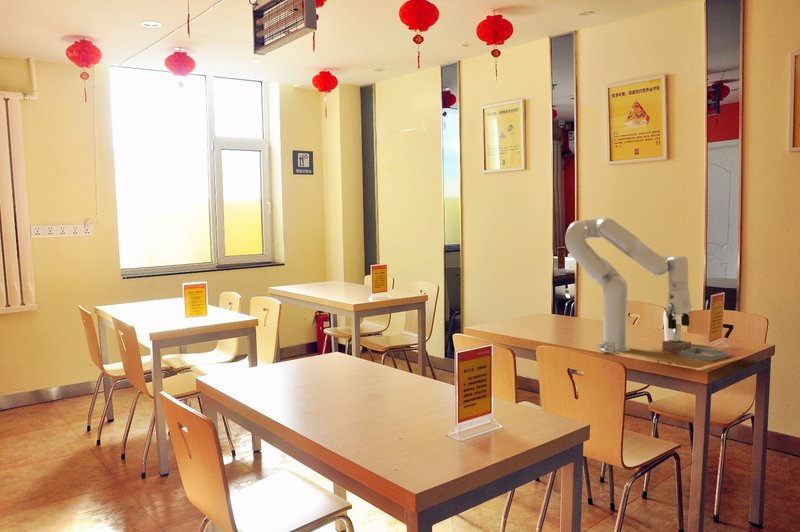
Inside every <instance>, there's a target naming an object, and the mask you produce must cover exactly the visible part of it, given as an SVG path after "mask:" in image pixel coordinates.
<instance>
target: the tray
mask: <svg viewBox="0 0 800 532" xmlns="http://www.w3.org/2000/svg"><path fill="white" fill-rule="evenodd" d="M697 352H698V353H697ZM699 353H700V354H699ZM701 353H703V354H701ZM704 354H705V355H704ZM706 354H710V355H706ZM678 356H679V357H685V358H690V359H696V360H700V361H701V360H702V361H707V362H713V361H718V360H720V359H724V358H727V357H729V351H725V350H724V351H723V350H720V349H718V350H717V349H711V348H706V347H698V346H695V347H691V348H690V349H686V350H682V351H679V354H678Z"/></svg>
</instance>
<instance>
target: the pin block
mask: <svg viewBox="0 0 800 532" xmlns="http://www.w3.org/2000/svg"><path fill="white" fill-rule="evenodd" d="M661 346H662V348H661V349H662V352H665V353H670V354H675V355H676V354H677V355H679V351H682V350H686V349H690V348H692V341H686V340H681V343H673V339H672V340H668V341H665V340H664V341H662V345H661Z"/></svg>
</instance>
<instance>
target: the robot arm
mask: <svg viewBox="0 0 800 532" xmlns="http://www.w3.org/2000/svg"><path fill="white" fill-rule="evenodd" d="M564 236H565V237H564V242H565V243H564V244H565V248H566V250H567V251H568V253H569V254H570V255H571V256H572V258H573V259H574V261H576V262H577V264H578V266H580V267H581V268H582V269H583V270H584V272H585V273H586V274H587V275H588V276H589V278H591V279H592V280H594V281H595V282H596V283H597V284H598V285H599V286H600V287H601V288H602V296H603V297H602V299H603V300H602V301H603V306H602V309H603V311H602V313H603V314H602V315H603V317H602V319H603V321H602V324H603V326H602V327H603V329H602V333H603V334H602V335H603V336H602V341H601V343H598V344H596V348H597V349H599V351H601V352H603V353H608V354H609V353H610V354H618V353H620V352H622V353H623V352H628V351H631V348H630V347H629V346H627V344H628V343H627V342H628V341H627V340H628V339H627V338H628V337H627V336H628V331H627V329H628V327H627V326H628V325H627V324H628V314H627V313H628V311H627V310H628V284H627V281H626V280H625V278H624V277H623V275H621V273H619V271H617V269H616V268H614V266H613V265H612V264H611V263H610V262H609V261H608V260H607V259H606V258H604V257H601V256H600V255H599V254H598V253H597V252H596V251H595V250H594V249H593V247H591V246H590V245H589V243H588V242H587V240H589V239H600V238H602V239H604V240H605V241H607V242H608V243H609V244H611V245H612V246H614V247H615V248H616V249H618V250H620V252H621V253H623V254H624V255H626V256H627V257H629V258H630V259H632V260H634V261H635V262H636V263H637V264H638V265H640V266H642V267H643V268H644V269H646V270H647V271H648V272H650V273H651V274H653V275H655V276H662V275H665V274H667V275H668V276H667V278H668V283H667V285H668V293H667V295H668V296H667V306H666V308H665V310H664V311H666V316H667V319H668V328H669V329H676V319H675V317H676V315H677V314H680V325H681V326H684V327H689V326H690V316H691V311H692V310H691V309H692V304H691V303H692V302H691V295H690V290H689V259H688V257H687V256H684V255H674V256H664V255H660V254H658V253H657V252H656V251H655V250H652V249H651V248H650V247H649V246H647V245H646V244H645V243H644V242H643V241H642V240H641V239H640V238H639V237H637V235H635V234H634V233H632V232H631V231H629V230H628V229H627V228H625V227H624V226H622V225H621V224H620V223H618V222H617V221H616V220H614V219H613V218H611V217H601V218H592V219H580V220H575V221H574V220H573V222H571V223H570V224H569V226H568V227H567V229H566V232H565V235H564ZM672 314H674V315H672Z"/></svg>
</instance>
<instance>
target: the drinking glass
mask: <svg viewBox="0 0 800 532" xmlns="http://www.w3.org/2000/svg"><path fill="white" fill-rule="evenodd" d="M672 315H674V314H672ZM662 319H663V331H664V332H663V333H664V341H668V340H672V339H673V329H669V328H668V319H667V316H666V311H665V310H663V317H662ZM675 319H676V324H680V325H681V314H677V315H676V317H675Z"/></svg>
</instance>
